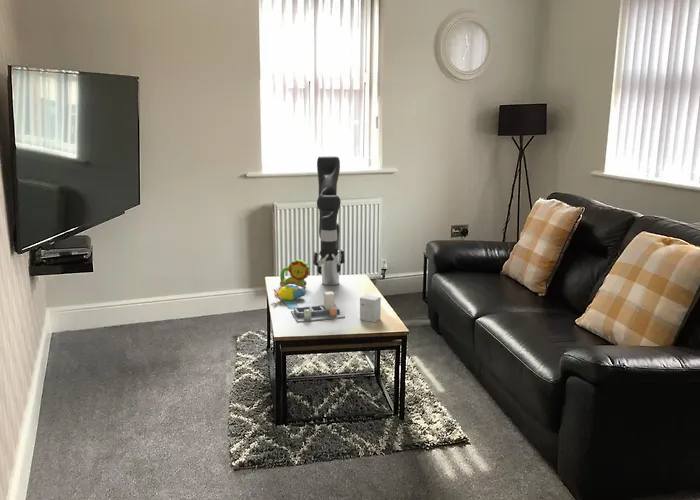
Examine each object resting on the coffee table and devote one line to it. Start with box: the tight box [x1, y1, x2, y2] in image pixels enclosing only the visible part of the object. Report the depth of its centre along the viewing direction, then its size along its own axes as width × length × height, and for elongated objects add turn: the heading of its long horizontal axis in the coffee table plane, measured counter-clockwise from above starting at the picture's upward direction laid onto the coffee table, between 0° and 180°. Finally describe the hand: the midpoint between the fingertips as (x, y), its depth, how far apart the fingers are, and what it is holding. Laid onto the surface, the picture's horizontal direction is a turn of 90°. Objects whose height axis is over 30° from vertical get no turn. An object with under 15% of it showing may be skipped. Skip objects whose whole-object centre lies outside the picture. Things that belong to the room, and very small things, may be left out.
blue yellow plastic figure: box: [272, 284, 306, 311], centre depth 309 cm, size 28×9×15 cm
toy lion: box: [279, 258, 311, 288], centre depth 329 cm, size 16×5×15 cm, turn 76°
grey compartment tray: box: [290, 303, 346, 324], centre depth 288 cm, size 14×22×5 cm, turn 107°
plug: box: [323, 290, 335, 310], centre depth 291 cm, size 4×4×9 cm
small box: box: [359, 294, 382, 323], centre depth 283 cm, size 8×6×10 cm
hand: (328, 273), depth 288 cm, fingers open, 8 cm apart
